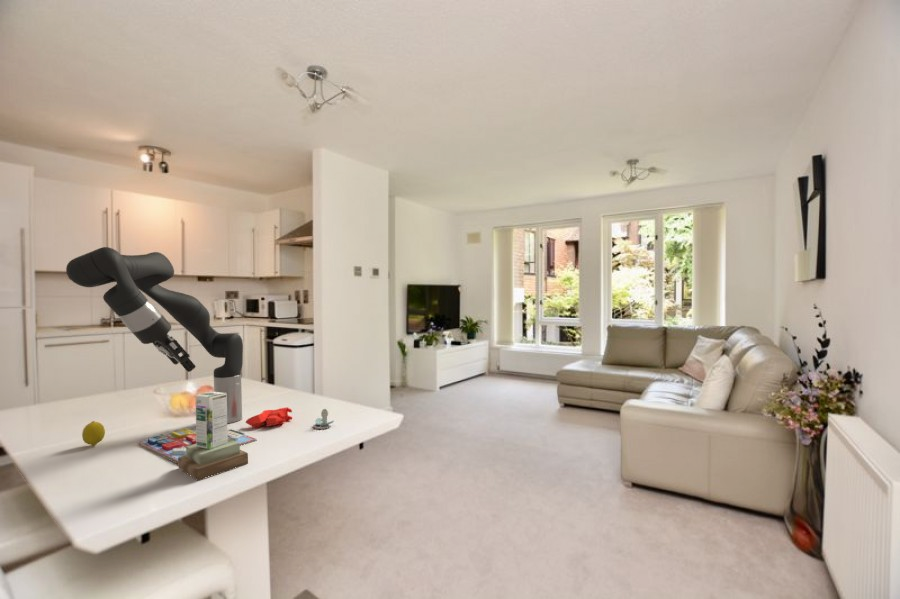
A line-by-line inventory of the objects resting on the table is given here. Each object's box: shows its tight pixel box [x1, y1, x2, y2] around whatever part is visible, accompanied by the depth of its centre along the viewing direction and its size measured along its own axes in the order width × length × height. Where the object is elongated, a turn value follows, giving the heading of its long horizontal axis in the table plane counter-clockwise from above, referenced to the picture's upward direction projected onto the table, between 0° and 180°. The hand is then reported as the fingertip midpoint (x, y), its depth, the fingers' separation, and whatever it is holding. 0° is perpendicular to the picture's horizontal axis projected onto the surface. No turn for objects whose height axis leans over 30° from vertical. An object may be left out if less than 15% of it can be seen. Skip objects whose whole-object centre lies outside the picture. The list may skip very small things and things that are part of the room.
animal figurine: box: [245, 407, 293, 429], centre depth 151 cm, size 12×15×5 cm
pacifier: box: [312, 408, 335, 430], centre depth 148 cm, size 7×6×6 cm
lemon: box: [82, 420, 106, 447], centre depth 133 cm, size 6×6×8 cm
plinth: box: [177, 438, 249, 481], centre depth 116 cm, size 13×13×6 cm
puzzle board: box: [138, 427, 258, 464], centre depth 135 cm, size 30×23×3 cm
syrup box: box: [195, 391, 228, 449], centre depth 115 cm, size 6×6×14 cm
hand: (185, 365), depth 113 cm, fingers open, 8 cm apart
